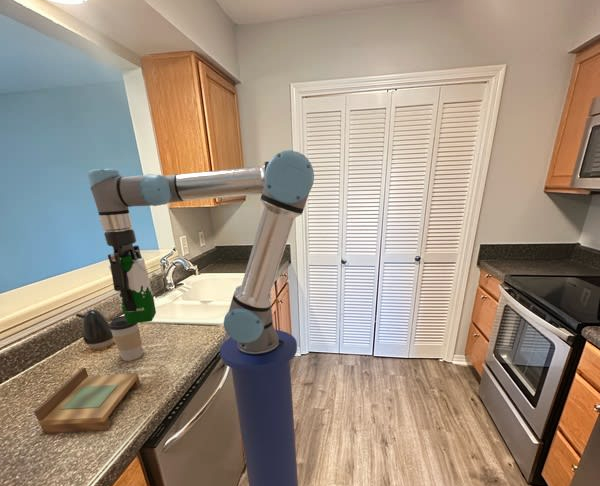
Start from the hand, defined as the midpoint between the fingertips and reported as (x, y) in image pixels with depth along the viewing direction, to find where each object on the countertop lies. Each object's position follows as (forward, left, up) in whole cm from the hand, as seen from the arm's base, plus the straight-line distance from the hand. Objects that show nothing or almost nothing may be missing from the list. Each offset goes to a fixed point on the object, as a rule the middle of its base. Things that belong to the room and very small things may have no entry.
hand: (138, 304), depth 99 cm
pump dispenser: (+28, -19, -23) cm, 41 cm away
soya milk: (0, 0, -5) cm, 5 cm away
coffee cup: (+12, -10, -23) cm, 28 cm away
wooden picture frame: (+9, +19, -23) cm, 31 cm away
